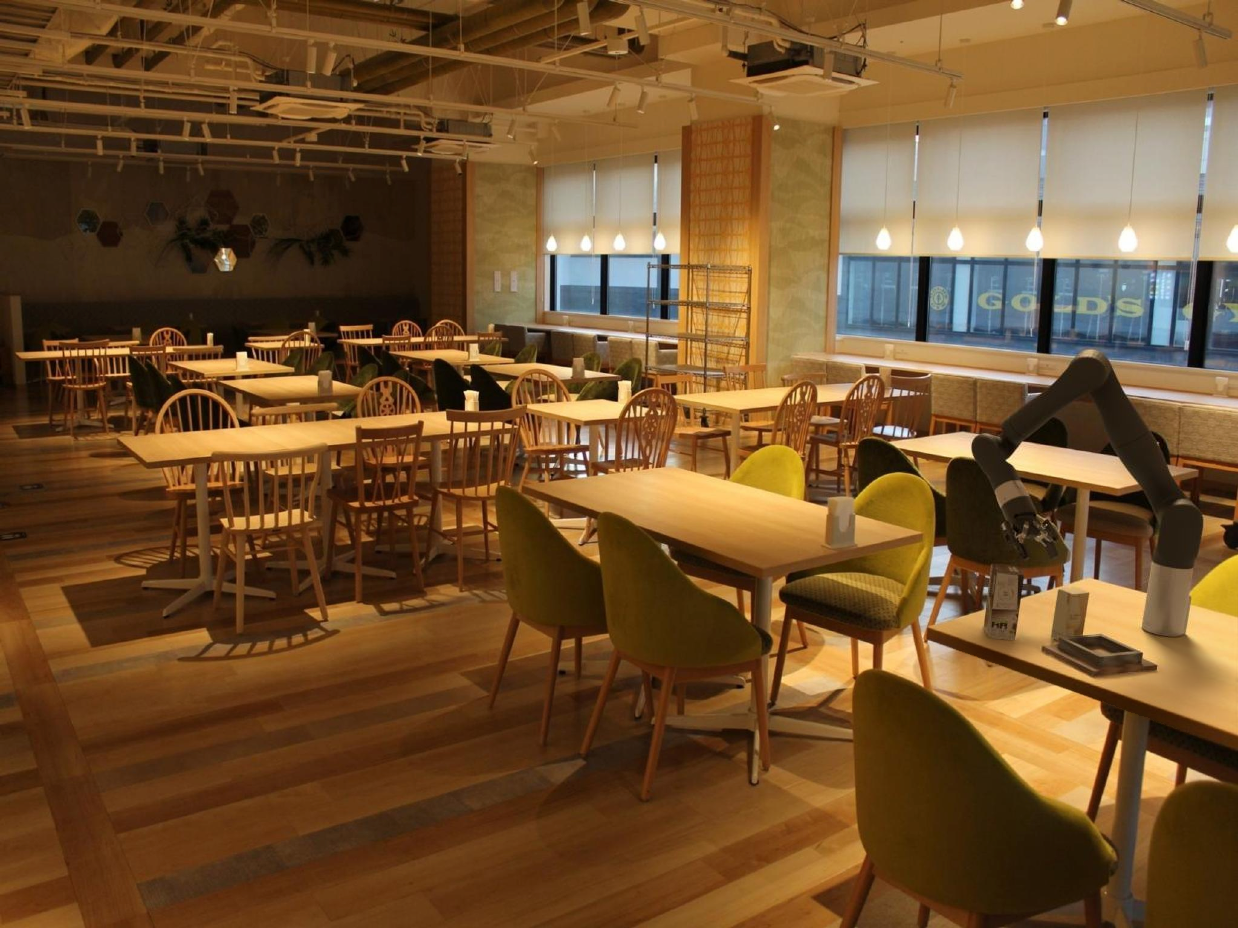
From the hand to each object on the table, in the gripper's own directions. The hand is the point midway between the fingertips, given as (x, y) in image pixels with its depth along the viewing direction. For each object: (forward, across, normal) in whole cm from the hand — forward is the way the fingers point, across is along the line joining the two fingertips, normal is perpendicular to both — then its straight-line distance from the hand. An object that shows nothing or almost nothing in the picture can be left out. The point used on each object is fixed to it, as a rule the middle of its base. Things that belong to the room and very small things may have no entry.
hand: (1040, 558), depth 264 cm
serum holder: (+29, -3, -6) cm, 30 cm away
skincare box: (+20, 0, +4) cm, 21 cm away
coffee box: (+15, -14, +9) cm, 22 cm away
